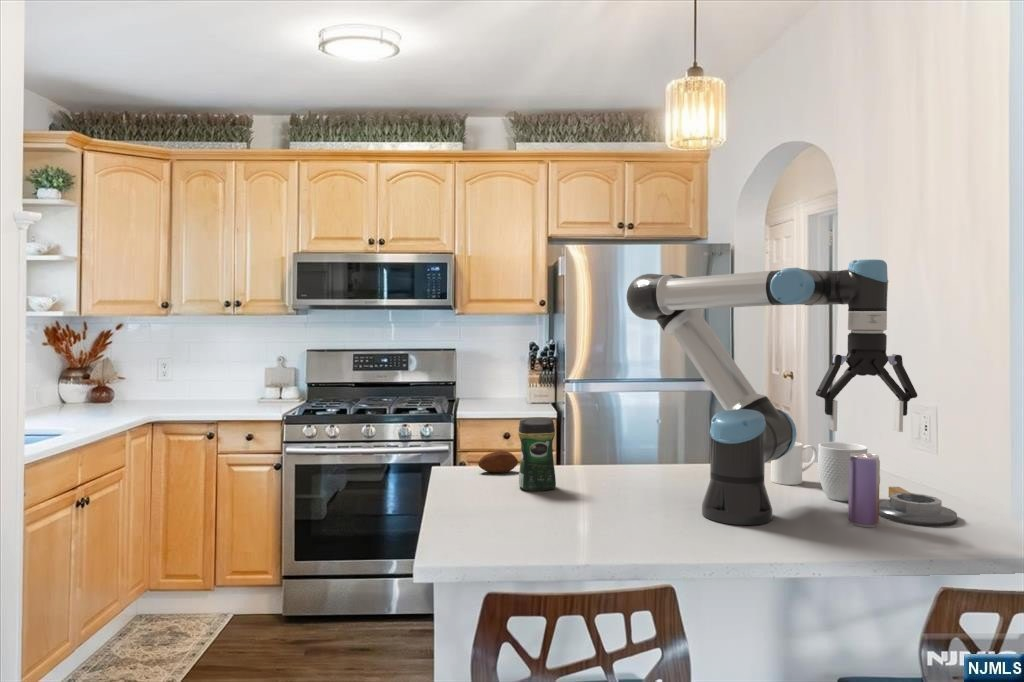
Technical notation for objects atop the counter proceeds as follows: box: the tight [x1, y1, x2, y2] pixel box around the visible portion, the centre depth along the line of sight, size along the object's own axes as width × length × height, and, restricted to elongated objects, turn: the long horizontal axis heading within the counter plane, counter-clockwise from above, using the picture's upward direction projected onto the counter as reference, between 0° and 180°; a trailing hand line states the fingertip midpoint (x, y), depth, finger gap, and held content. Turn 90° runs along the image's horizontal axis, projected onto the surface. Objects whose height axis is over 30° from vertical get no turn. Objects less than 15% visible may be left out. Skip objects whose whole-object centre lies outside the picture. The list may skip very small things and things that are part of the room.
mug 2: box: [817, 441, 868, 502], centre depth 178 cm, size 15×11×13 cm
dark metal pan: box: [879, 486, 958, 528], centre depth 165 cm, size 16×19×4 cm
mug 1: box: [770, 441, 818, 486], centre depth 197 cm, size 12×8×10 cm, turn 96°
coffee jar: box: [517, 416, 557, 492], centre depth 190 cm, size 10×8×19 cm
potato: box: [477, 449, 519, 474], centre depth 209 cm, size 6×12×6 cm, turn 101°
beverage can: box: [847, 452, 881, 528], centre depth 158 cm, size 6×6×15 cm
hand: (865, 430), depth 157 cm, fingers open, 13 cm apart
